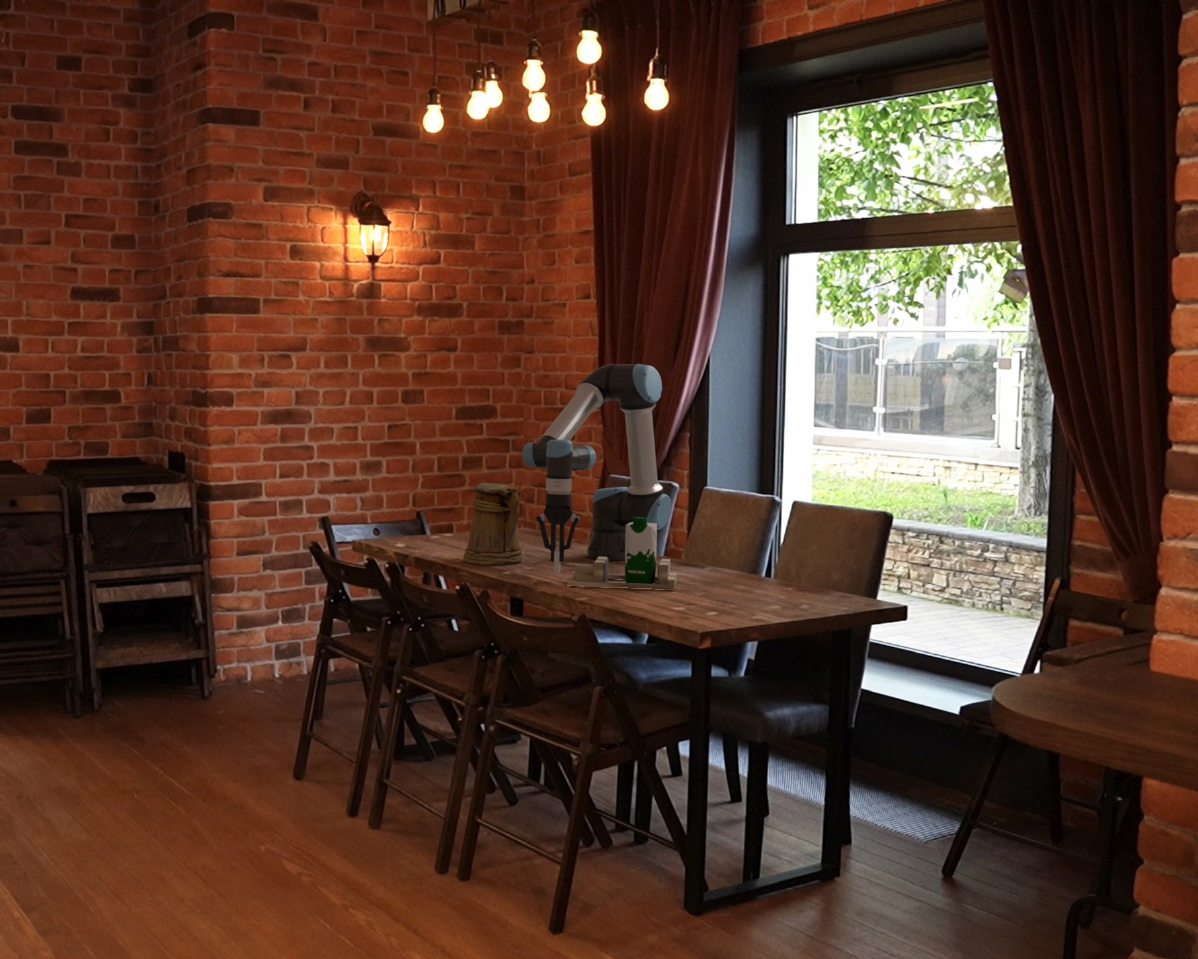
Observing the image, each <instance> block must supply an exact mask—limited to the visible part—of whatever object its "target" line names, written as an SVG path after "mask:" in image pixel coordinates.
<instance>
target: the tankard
mask: <svg viewBox="0 0 1198 959" xmlns="http://www.w3.org/2000/svg"><path fill="white" fill-rule="evenodd" d="M474 489H475V490H476V493H475V497H474V498H473V499H472V500H473V501H472V505H471V506H472V509H473V511H472V518H471V523H470V528H469V529H470V530H469V534H468V541H467V547H466V549H465V550H464V553H463V557H462V560H463V561H464V562H467V563H469V564H474V565H478V566H479V565H481V566H490V565H504V566H510V565H509V564H513V565H515V564H514V563H517V564H520V563H521V562H522V561H523V553H522V549H521V547H520V538H519V528H518V523H519V522H518V521H519V518H520V507H521V506H520V497H519V496H521V494H522V493H521V490H518V488H517V487H514V486H511V485H508V484H503V483H494V482H491V483H490V482H481V483H479V484H477V485H476V486H475V488H474ZM519 562H520V563H519Z"/></svg>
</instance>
